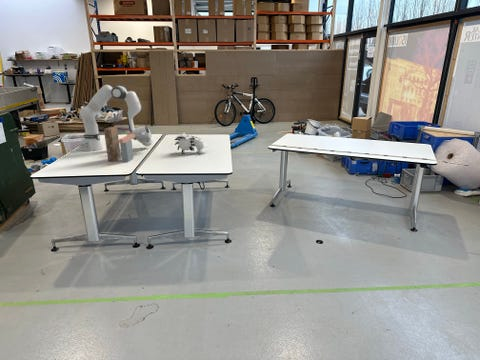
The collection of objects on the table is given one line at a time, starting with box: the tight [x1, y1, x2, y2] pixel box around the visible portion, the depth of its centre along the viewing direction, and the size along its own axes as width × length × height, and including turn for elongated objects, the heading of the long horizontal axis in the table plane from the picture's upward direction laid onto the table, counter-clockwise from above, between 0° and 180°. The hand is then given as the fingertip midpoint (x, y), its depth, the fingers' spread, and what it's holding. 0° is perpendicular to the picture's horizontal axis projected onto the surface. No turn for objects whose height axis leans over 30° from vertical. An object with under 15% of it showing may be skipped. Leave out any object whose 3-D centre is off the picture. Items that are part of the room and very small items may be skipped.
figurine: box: [174, 132, 210, 155], centre depth 292 cm, size 17×16×30 cm
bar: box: [119, 134, 135, 144], centre depth 268 cm, size 3×22×3 cm, turn 172°
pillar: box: [103, 126, 122, 162], centre depth 268 cm, size 6×10×26 cm, turn 172°
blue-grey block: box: [119, 139, 135, 163], centre depth 268 cm, size 5×10×16 cm, turn 173°
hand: (135, 132), depth 282 cm, fingers open, 8 cm apart
